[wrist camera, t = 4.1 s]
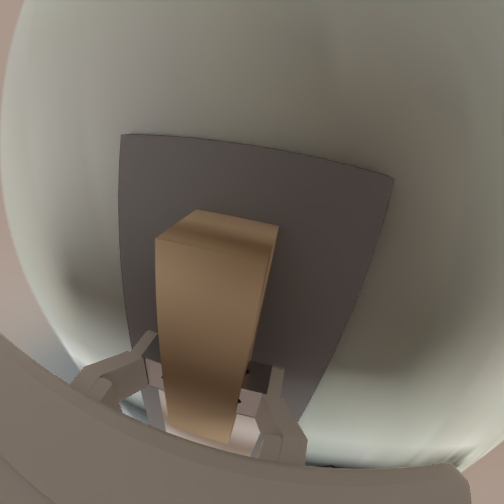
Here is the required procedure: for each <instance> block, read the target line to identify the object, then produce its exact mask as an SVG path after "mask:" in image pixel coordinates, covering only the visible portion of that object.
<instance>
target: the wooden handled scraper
mask: <svg viewBox="0 0 504 504" xmlns="http://www.w3.org/2000/svg"><path fill="white" fill-rule="evenodd" d="M278 230H279V226H277V225H272V224H268V223H263V222H258V221H253V220H248V219H244V218H239V217H234V216H229V215H224V214H219V213H213V212H208V211H203V210H198V209H196V210H195V211H193V212H192V213H190V214H189V215H187V216H186V217H184V218H183V219H182V220H180V221H179V222H177V223H176V224H174V225H173V226H172V227H170V228H169V229H167V230H166V231H165V232H163V233H162V234H160V235H159V236H158V237H156V238H155V278H156V304H157V321H158V335H159V347H160V357H161V367H162V376H163V384H164V390H163V389H160V388H159V389H158V390H159V396H160V402H161V408H162V413H163V418H164V423H165V428H166V432H168V433H171V434H173V435H176V436H179V437H182V438H185V439H188V440H191V441H194V442H197V443H200V444H203V445H206V446H210V447H213V448H217V449H220V450H224V451H228V452H232V453H236V454H240V455H245V456H249V457H250V455H251V453H252V451H253V448H254V446H255V444H256V441H257V439H258V437H259V434H260V431H259V428H258V426H257V423H256V420H255V417H252V416H248V415H244V414H240V413H237V412H236V408H237V403H238V400H239V394H240V390H241V386H242V383H243V379H244V376H245V375H246V370H247V366H248V363H249V360H251V357H252V353H253V348H254V344H255V339H256V335H257V330H258V326H259V321H260V317H261V312H262V307H263V303H264V298H265V293H266V288H267V284H268V279H269V274H270V269H271V264H272V259H273V255H274V250H275V245H276V240H277V235H278Z"/></svg>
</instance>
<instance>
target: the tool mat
mask: <svg viewBox="0 0 504 504" xmlns="http://www.w3.org/2000/svg"><path fill="white" fill-rule="evenodd" d="M393 183H394V179H393V178H392V177H390V176H386V175H383V174H380V173H376V172H373V171H369V170H365V169H362V168H358V167H354V166H350V165H347V164H343V163H339V162H334V161H330V160H326V159H322V158H317V157H313V156H308V155H303V154H298V153H293V152H288V151H283V150H277V149H272V148H266V147H260V146H254V145H247V144H240V143H233V142H225V141H217V140H208V139H199V138H188V137H176V136H162V135H142V134H124V135H121V143H120V158H119V188H118V212H119V242H120V259H121V271H122V282H123V291H124V300H125V308H126V315H127V322H128V329H129V335H130V341H131V346H132V349H133V348H134V347H135V345H136V344H137V343H138V341H139V340H140V339H141V338H142V336H143V335H144V334H145V333H146V331H148V330H151V331H153V332H156V333H158V321H157V304H156V278H155V238H156V237H158V236H159V235H160V234H162V233H163V232H165V231H166V230H167V229H169V228H170V227H172V226H173V225H174V224H176V223H177V222H179V221H180V220H182V219H183V218H184V217H186V216H187V215H189V214H190V213H192V212H193V211H195V210H196V209H198V210H203V211H208V212H213V213H219V214H224V215H229V216H234V217H239V218H244V219H248V220H253V221H258V222H263V223H268V224H272V225H277V226H279V230H278V235H277V240H276V245H275V250H274V255H273V259H272V264H271V269H270V274H269V279H268V284H267V288H266V293H265V298H264V303H263V307H262V312H261V317H260V321H259V326H258V330H257V335H256V339H255V344H254V348H253V353H252V357H251V361H255V362H260V363H264V364H269V365H272V366H278V367H283V368H284V369H285V370H284V377H283V383H282V389H281V395H280V398H284V400H285V402H286V404H287V405H288V407H289V409H290V411H291V412H292V414H293V416H294V418H295V419H296V421H297V422H298V421H299V419H300V417H301V415H302V414H303V412H304V410H305V408H306V406H307V405H308V403H309V401H310V399H311V397H312V395H313V393H314V392H315V390H316V388H317V386H318V384H319V382H320V380H321V378H322V376H323V374H324V372H325V370H326V368H327V366H328V364H329V362H330V359H331V357H332V355H333V353H334V351H335V349H336V347H337V344H338V342H339V340H340V338H341V335H342V333H343V331H344V329H345V326H346V324H347V322H348V319H349V317H350V314H351V312H352V309H353V307H354V304H355V302H356V299H357V297H358V294H359V292H360V289H361V286H362V284H363V281H364V278H365V275H366V273H367V270H368V267H369V264H370V261H371V258H372V255H373V252H374V249H375V246H376V243H377V240H378V237H379V233H380V230H381V227H382V224H383V220H384V217H385V213H386V210H387V206H388V202H389V198H390V195H391V191H392V187H393ZM158 389H159V388H157V387H154V386H152V385H149V384H148V386H147V387H145V388H143V389H141V393H142V397H143V401H144V405H145V409H146V412H147V416H148V419H149V423H150V426H153V427H155V428H158V429H160V430H163V431H165V432H166V428H165V423H164V418H163V413H162V408H161V402H160V396H159V390H158ZM262 441H263V438H262V436H261V433H260V434H259V437H258V439H257V441H256V444H255V446H254V448H253V451H252V453H251V455H250V457H255V455H256V453H257V451H258V449H259V447H260V445H261V443H262Z"/></svg>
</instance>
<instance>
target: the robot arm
mask: <svg viewBox="0 0 504 504" xmlns="http://www.w3.org/2000/svg"><path fill="white" fill-rule="evenodd" d="M284 370H285V369H284V368H283V367H278V366H272V365H269V364H264V363H260V362H255V361H251V360H249V363H248V366H247V370H246V375H245V376H244V379H243V383H242V386H241V390H240V394H239V400H238V403H237V408H236V412H237V413H240V414H244V415H248V416H252V417H255V420H256V423H257V426H258V428H259V431H260V433H261V436H262V438H263V441H262V443H261V445H260V447H259V449H258V451H257V453H256V455H255V457H249V456H245V455H240V454H236V453H232V452H228V451H224V450H220V449H217V448H213V447H210V446H206V445H203V444H200V443H197V442H194V441H191V440H188V439H185V438H182V437H179V436H176V435H173V434H171V433H168V432H165V431H163V430H160V429H158V428H155V427H153V426H150V425H148V424H145V423H143V422H141V421H138V420H136V419H134V418H132V417H130V416H127V415H125V414H123V413H122V410H121V407H120V405H119V402H120V401H122V400H123V399H125V398H127V397H129V396H131V395H132V394H134V393H136V392H138V391H140V390H141V389H143V388H145V387H147V386H148V384H149V385H152V386H154V387H157V388H160V389H163V390H164V384H163V376H162V367H161V357H160V347H159V335H158V333H156V332H153V331H151V330H148V331H146V333H145V334H144V335H143V336H142V338H141V339H140V340H139V341H138V343H137V344H136V345H135V347H134V348H133V349H132V351H131V352H128V351H127V352H124V353H121V354H119V355H116V356H113V357H110V358H108V359H105V360H102V361H99V362H97V363H94V364H91V365H88V366H85V367H84V368H83V369H82V370H81V372H80V373H79V374H78V375H77V376H76V377H75V379H74V380H73V381H72V382H71V383H70V384H68V383H67V382H65V381H64V380H62V379H61V378H59V377H58V376H56V375H54V374H53V373H52V372H50V371H49V370H47V369H46V368H44V367H43V366H42V365H40V364H39V363H37V362H36V361H34V360H33V359H32V358H30V357H29V356H28V355H27V354H25V353H24V352H23V351H22V350H20V349H19V348H18V347H17V346H15V345H14V344H13V343H12V342H11V341H9V340H8V339H7V338H6V337H5V336H3V335H2V334H1V333H0V504H471V493H470V487H469V483H468V481H467V479H466V478H465V477H464V476H463V475H462V474H461V473H460V471H459V470H458V469H457V468H456V467H454V466H453V465H452V464H451V463H447V462H445V463H437V464H430V465H422V466H413V467H402V468H385V469H342V468H325V467H313V466H305V458H306V449H307V438H306V436H305V435H304V433H303V431H302V430H301V428H300V426H299V424H298V423H297V421H296V419H295V418H294V416H293V414H292V412H291V411H290V409H289V407H288V405H287V404H286V402H285V400H284V398H280V395H281V389H282V383H283V377H284Z"/></svg>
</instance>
